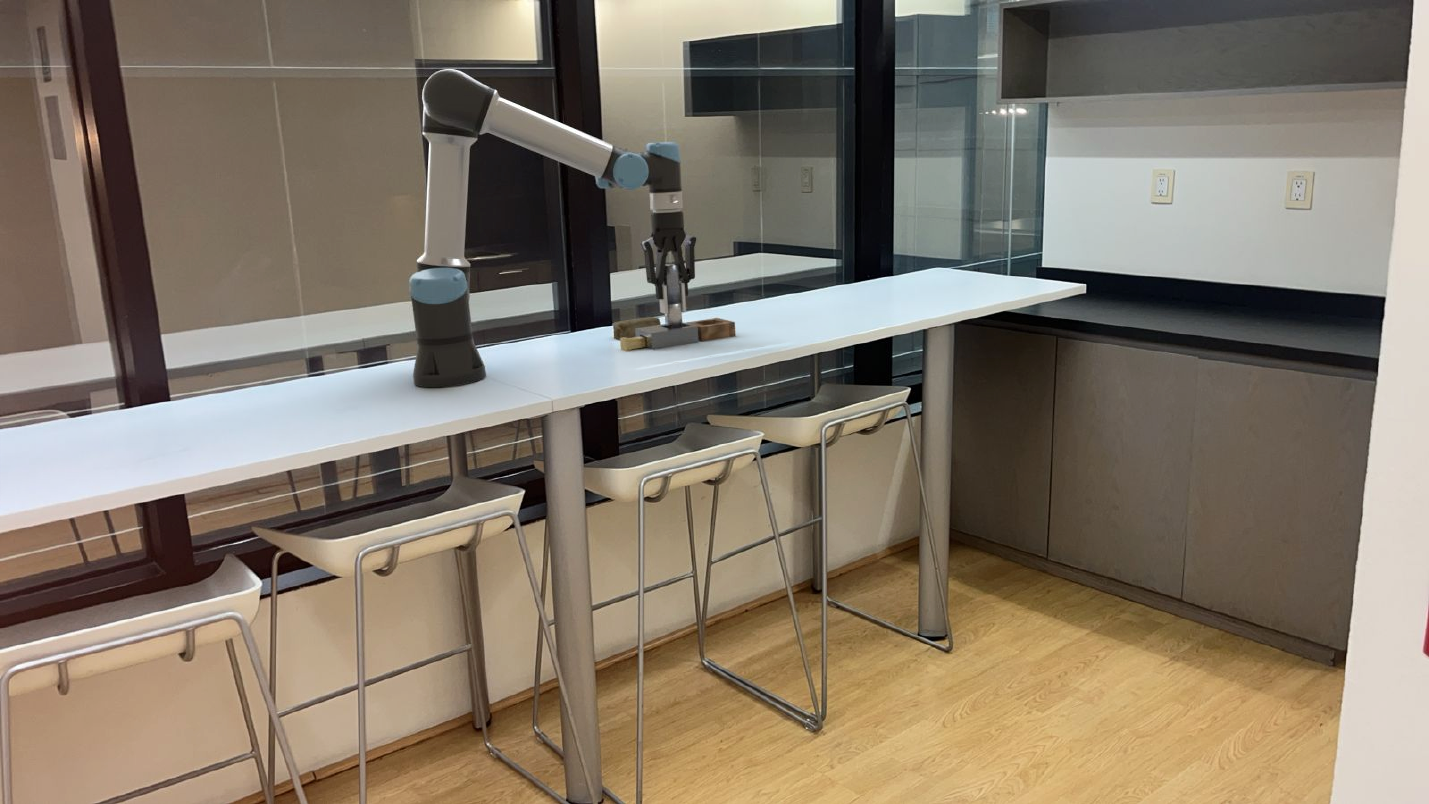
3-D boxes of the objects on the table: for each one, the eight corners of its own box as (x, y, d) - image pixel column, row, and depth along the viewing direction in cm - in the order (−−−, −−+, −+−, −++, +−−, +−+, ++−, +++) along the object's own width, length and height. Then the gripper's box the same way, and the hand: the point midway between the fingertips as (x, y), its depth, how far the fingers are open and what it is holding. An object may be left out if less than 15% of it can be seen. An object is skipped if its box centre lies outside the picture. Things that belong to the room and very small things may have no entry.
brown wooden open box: (702, 343, 249) (701, 327, 248) (685, 339, 257) (684, 322, 256) (735, 338, 253) (734, 322, 252) (717, 333, 261) (716, 317, 260)
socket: (652, 352, 243) (651, 333, 242) (636, 346, 251) (635, 328, 250) (698, 344, 249) (697, 326, 248) (681, 339, 256) (680, 321, 255)
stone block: (663, 337, 263) (661, 317, 262) (621, 344, 258) (619, 324, 256) (653, 334, 268) (651, 314, 267) (611, 341, 262) (609, 321, 261)
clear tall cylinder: (670, 334, 248) (665, 266, 244) (663, 332, 251) (658, 265, 247) (685, 332, 249) (681, 264, 246) (678, 330, 253) (674, 263, 249)
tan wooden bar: (626, 351, 243) (625, 339, 243) (621, 349, 246) (620, 337, 245) (660, 346, 247) (659, 334, 247) (654, 344, 250) (653, 332, 249)
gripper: (639, 214, 236) (646, 317, 242) (707, 208, 244) (712, 309, 250) (626, 213, 243) (633, 314, 248) (692, 207, 251) (698, 305, 256)
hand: (673, 311), depth 249 cm, fingers closed on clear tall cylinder, 4 cm apart
